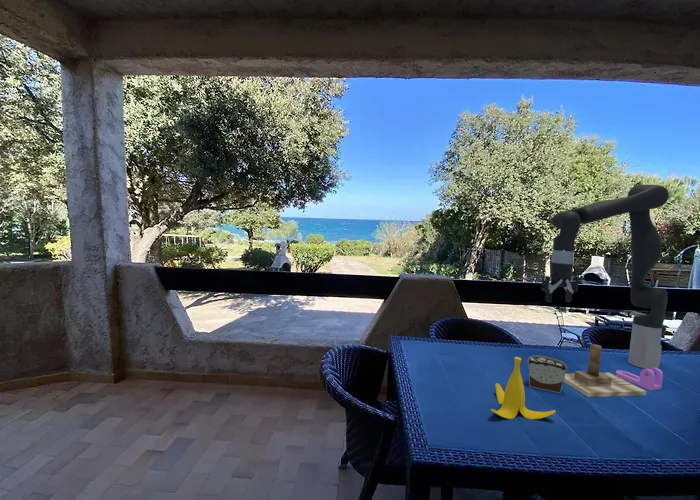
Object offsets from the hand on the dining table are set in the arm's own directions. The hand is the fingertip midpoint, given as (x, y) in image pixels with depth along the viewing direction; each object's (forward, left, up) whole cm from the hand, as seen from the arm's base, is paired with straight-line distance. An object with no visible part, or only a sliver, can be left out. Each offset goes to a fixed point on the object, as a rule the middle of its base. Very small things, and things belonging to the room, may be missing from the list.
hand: (558, 301), depth 134 cm
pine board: (-4, +18, -26) cm, 32 cm away
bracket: (-22, +15, -26) cm, 38 cm away
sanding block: (-1, +18, -25) cm, 30 cm away
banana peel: (+40, +32, -26) cm, 58 cm away
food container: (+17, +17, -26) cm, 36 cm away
